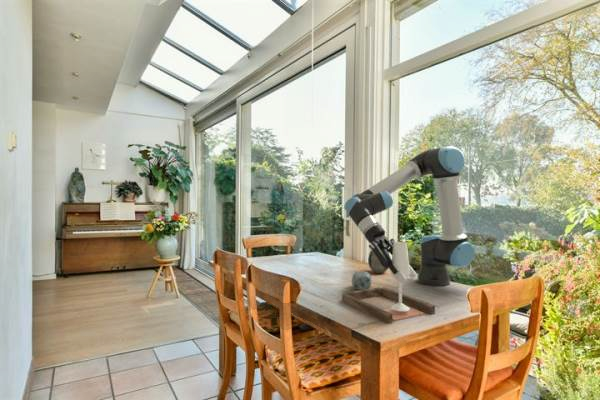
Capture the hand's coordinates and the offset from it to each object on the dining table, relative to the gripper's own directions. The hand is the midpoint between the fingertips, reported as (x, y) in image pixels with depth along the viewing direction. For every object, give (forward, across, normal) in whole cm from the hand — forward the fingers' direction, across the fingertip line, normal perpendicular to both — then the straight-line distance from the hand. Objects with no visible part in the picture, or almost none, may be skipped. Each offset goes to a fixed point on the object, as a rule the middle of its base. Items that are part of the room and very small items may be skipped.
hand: (409, 278), depth 126 cm
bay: (+1, -2, -17) cm, 18 cm away
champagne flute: (+6, 0, -11) cm, 12 cm away
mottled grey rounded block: (-14, -15, -34) cm, 39 cm away
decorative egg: (-24, -48, -43) cm, 69 cm away
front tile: (+7, 0, -12) cm, 14 cm away
